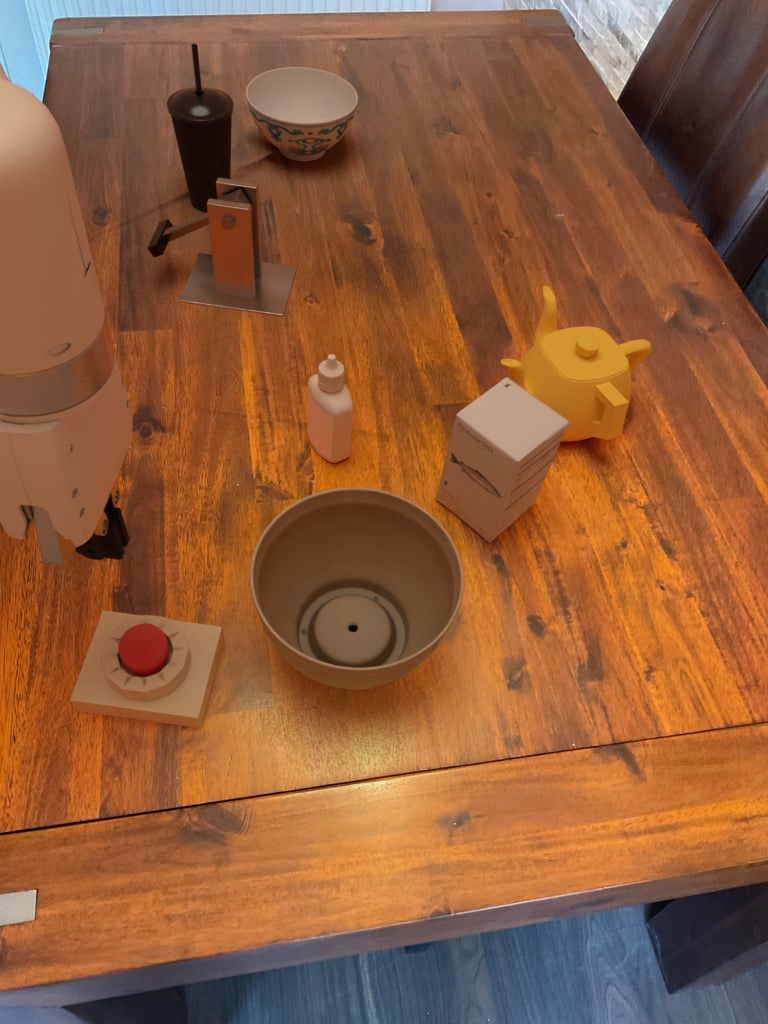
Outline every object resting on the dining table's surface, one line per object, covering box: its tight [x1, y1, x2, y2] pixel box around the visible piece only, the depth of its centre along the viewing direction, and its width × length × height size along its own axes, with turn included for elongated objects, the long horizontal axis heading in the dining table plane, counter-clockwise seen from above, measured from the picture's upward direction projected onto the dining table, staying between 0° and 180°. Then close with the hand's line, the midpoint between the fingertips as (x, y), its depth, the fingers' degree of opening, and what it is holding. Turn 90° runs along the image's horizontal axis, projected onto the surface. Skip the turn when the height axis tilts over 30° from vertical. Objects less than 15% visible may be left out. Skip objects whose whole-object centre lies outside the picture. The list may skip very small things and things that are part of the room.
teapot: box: [500, 285, 652, 443], centre depth 84 cm, size 14×13×10 cm
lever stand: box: [178, 178, 298, 317], centre depth 89 cm, size 12×9×13 cm
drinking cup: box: [166, 43, 235, 213], centre depth 96 cm, size 8×8×20 cm
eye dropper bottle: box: [306, 353, 354, 464], centre depth 77 cm, size 4×6×12 cm
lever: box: [146, 189, 253, 258], centre depth 88 cm, size 12×5×2 cm, turn 84°
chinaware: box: [245, 66, 359, 162], centre depth 111 cm, size 15×15×8 cm
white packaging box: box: [435, 376, 569, 544], centre depth 74 cm, size 7×7×13 cm
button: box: [118, 624, 169, 675], centre depth 62 cm, size 4×4×2 cm
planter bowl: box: [249, 486, 464, 690], centre depth 65 cm, size 16×16×11 cm
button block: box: [69, 609, 225, 729], centre depth 64 cm, size 10×8×4 cm
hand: (103, 547), depth 55 cm, fingers closed
